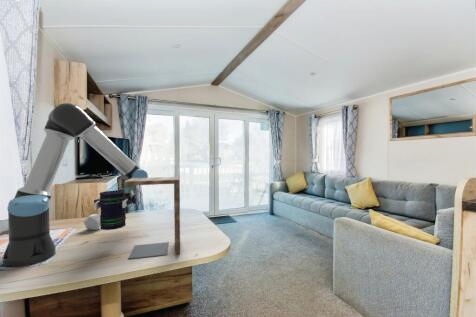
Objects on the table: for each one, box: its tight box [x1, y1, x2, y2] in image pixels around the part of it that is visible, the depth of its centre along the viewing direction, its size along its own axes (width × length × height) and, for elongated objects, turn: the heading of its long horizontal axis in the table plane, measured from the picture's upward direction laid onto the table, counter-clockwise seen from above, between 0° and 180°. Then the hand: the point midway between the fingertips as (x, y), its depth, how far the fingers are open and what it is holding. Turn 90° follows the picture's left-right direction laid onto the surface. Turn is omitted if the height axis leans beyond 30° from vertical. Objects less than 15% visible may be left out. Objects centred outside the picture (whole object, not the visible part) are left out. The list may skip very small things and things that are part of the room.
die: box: [83, 213, 101, 231], centre depth 123 cm, size 8×9×10 cm
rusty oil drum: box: [98, 189, 127, 231], centre depth 99 cm, size 10×10×15 cm
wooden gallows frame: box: [124, 176, 181, 256], centre depth 94 cm, size 20×14×30 cm
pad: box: [127, 241, 169, 260], centre depth 94 cm, size 14×13×1 cm
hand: (109, 205), depth 95 cm, fingers closed on rusty oil drum, 10 cm apart
